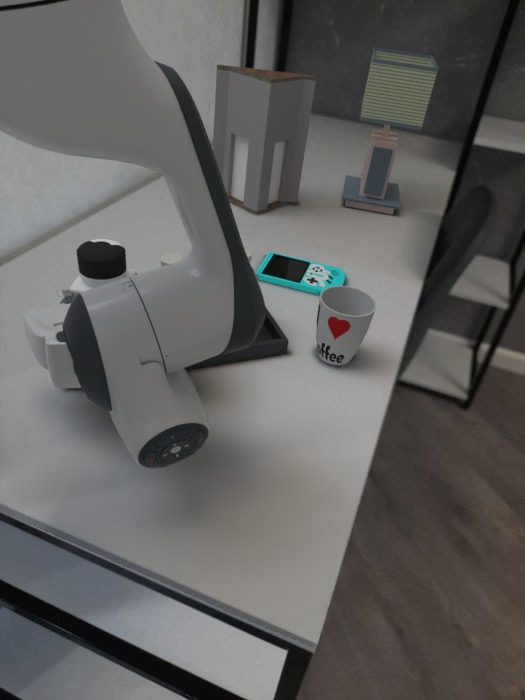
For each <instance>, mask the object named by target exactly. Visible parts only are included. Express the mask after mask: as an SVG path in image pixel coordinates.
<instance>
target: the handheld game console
mask: <svg viewBox="0 0 525 700" xmlns="http://www.w3.org/2000/svg"><path fill="white" fill-rule="evenodd" d="M254 273H256V274H257V275H258V277H259V281H262V282H266V283H270V284H275V285H278V286H282V287H286V288H289V289H294V290H298V291H301V292H306V293H310V294H314V295H318V296H320V294H321V292H322V291H323V290H324V289H326V288H328V287H332V286H345V285H344V284H345V281H346V273H345V271H344V270H342V269H341V268H339V267H337V266H333V265H328V264H324V263H320V262H317V261H316V262H315V261H311V260H306V259H303V258H299V257H295V256H291V255H286V254H282V253H278V252H274V251H268V253H267V254H266V256H265V258H264V259H263V261H262V262H261V263H260V265H259V266H258V267H257V269H256V271H254Z"/></svg>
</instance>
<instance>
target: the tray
mask: <svg viewBox="0 0 525 700" xmlns="http://www.w3.org/2000/svg"><path fill="white" fill-rule="evenodd" d="M289 342H290V340H289V339H288V337H287V335H286V334H285V333H284V331H283V330H282V328H281V327H280V325H279V323H278V322H277V321H276V319H275V317H273V316H272V314H271V313H270V311H269V310H268V307H266V317H265V320H264V322H263V325H262V327H261V329H260V331H259V333H258V335H257V337H256V338H255V340H254V341H253V343H252V344H251V346H250V347H248V348H245V349H242V350H238V351H235V352H231V353H228V354H224V355H221V356H214V357H211V358H209V359H206V360H203V361H201V362H198V363H196V364H193V365H190V366H188V367H185V368H184V369H185V370H186V371H187V370H193V369H199V368H206V367H212V366H217V365H224V364H231V363H236V362H243V361H248V360H254V359H255V360H256V359H260V358H266V357H273V356H279V355H285V354H287V352H288V347H289ZM70 389H71V390H72V389H73V388H67V390H70Z"/></svg>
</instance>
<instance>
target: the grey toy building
mask: <svg viewBox="0 0 525 700" xmlns="http://www.w3.org/2000/svg"><path fill="white" fill-rule="evenodd" d="M316 82H317V76H316V75H311V74H302V73H296V72H287V71H286V72H285V71H279V70H278V71H277V70H269V69H260V68H252V67H243V66H236V65H235V66H234V65H225V64H216V77H215V95H214V96H215V97H214V117H213V136H212V137H213V138H212V150H213V153H214V156H215V159H216V162H217V165H218V168H219V171H220V174H221V177H222V180H223V183H224V186H225V190H226V193H227V196H228V199H229V202H230V203H232V204H234V205H235V206H238V207H240V208H242V209H245V210H246V211H248V212H251V213H253V214H255V215H260V214H262V213H264V212H267V211H270V210H273V209H275V208H279V207H281V206H283V205H297V204H298V199H299V191H300V186H301V178H302V173H303V166H304V161H305V160H304V159H305V154H306V146H307V140H308V134H309V129H310V123H311V122H310V121H311V114H312V109H313V101H314V95H315V94H314V93H315V89H316Z"/></svg>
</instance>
